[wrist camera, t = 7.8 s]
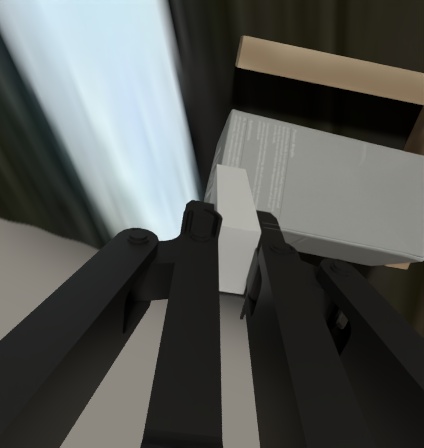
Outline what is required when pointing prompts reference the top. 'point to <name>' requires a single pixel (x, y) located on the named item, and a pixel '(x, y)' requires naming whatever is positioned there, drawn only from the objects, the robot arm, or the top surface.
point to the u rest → (338, 78)
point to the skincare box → (329, 189)
